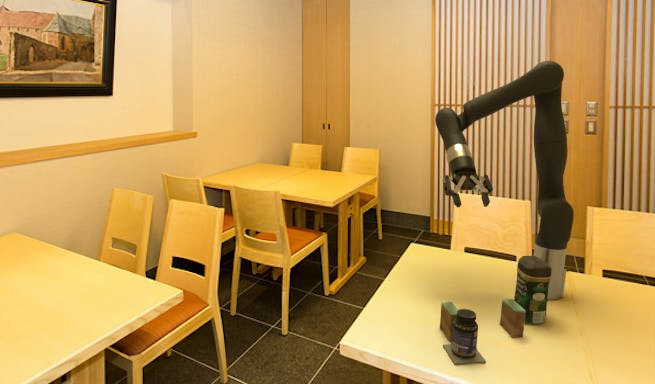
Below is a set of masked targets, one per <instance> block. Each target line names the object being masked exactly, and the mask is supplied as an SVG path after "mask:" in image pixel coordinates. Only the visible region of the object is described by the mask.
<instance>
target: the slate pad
mask: <svg viewBox="0 0 655 384" xmlns="http://www.w3.org/2000/svg"><path fill="white" fill-rule="evenodd" d="M451 345H452V343H447V344H446V343H445V344H442V348H443V349H444V351H445V353H447V355H448V357H449V359H450V360H451V363H453V365H454V366H463V365H476V364H477V365H481V364H486V363H487V361H486V359H485V358H484V357H483V355H482V354H481V353H480V352H479V350H478V349H477V348H476V355H475V356H474V357H472V358H461V357H458V356H457V355H455V354H454V353H453V352H452V350H451Z"/></svg>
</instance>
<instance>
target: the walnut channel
mask: <svg viewBox="0 0 655 384" xmlns="http://www.w3.org/2000/svg"><path fill="white" fill-rule="evenodd" d="M500 309H501V310H500V318H499V319H500V320H499V325H500V326H501V328H502V329H503V330H504V331H505V332H506V333H507V334H508V335H509V336H510V337H511V339H515V338H516V339H517V338H523V336H524V331H525V323H524V322H525V314H526V311H525V310H524V309H523V308H522V307H521V306H520V305H519V304H518V303H517V302H515V301H514V298H504V299H501V308H500ZM458 310H459V308H457V306H456V305H455V304H454V303H453V302H452V301H441V304H440V318H439V319H440V322H439V329H440V331H441V332H442V334H443V335H444V336H445V338H446V340H447V341H448V342H449V343H450V342H451V343H452V331H453V321H454V320H455V319H456V318H457V311H458Z"/></svg>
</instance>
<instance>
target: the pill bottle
mask: <svg viewBox="0 0 655 384" xmlns="http://www.w3.org/2000/svg"><path fill="white" fill-rule="evenodd" d="M476 320H477V313H476V312H475V311H474V310H472V309H469V308H460V309H459V308H458V311H457V318H456V319H455V320H454V321H453V331H452V342H451V344H452V345H451V350H452V352H453V353H454V354H455V355H457V356H458V357H461V358H472V357H474V356H475V355H476V349H477V346H478V336H479V335H478V334H479V333H478V332H479V324H478V322H477V321H476Z"/></svg>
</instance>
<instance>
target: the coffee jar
mask: <svg viewBox="0 0 655 384" xmlns="http://www.w3.org/2000/svg"><path fill="white" fill-rule="evenodd" d="M550 279H551V267H550V266H549V265H548V264H547V263H546V262H544V261H543V260H541V259H539V258H538V257H536V256H534V255H522V256H521V257H520V258H519V259H518V261H517V267H516V283H515V291H514V298H513V300H514V301H515V302H517V303H518V304H519V305H520V306H521V307H522V308H523V309H524V310H525V311H526V314H525V322H524V324H525V323H526V324H530V325H541V324H544V323H545V322H546V317H547V309H548V308H547V306H548V299H547V297H548V287H549V282H550Z"/></svg>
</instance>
